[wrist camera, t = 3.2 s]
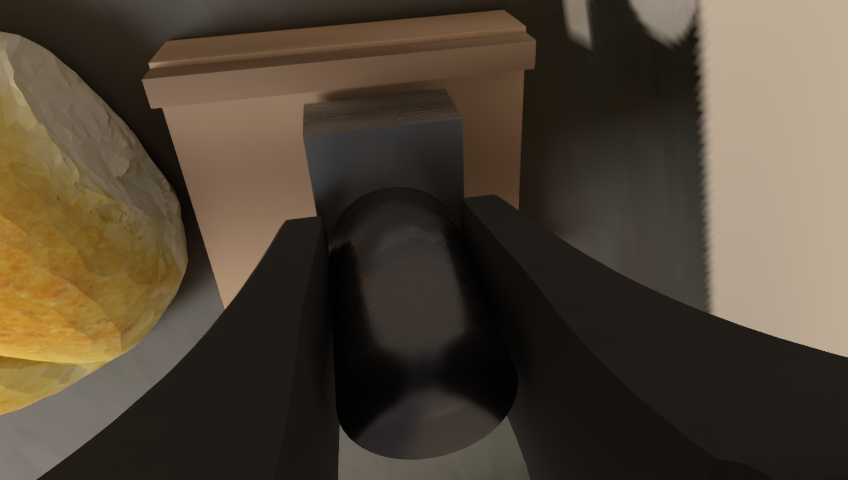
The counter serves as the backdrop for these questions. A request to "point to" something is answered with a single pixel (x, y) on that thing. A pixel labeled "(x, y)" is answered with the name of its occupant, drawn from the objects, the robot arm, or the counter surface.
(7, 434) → the counter surface
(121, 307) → the bread roll
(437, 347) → the jaw
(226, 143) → the press bed
